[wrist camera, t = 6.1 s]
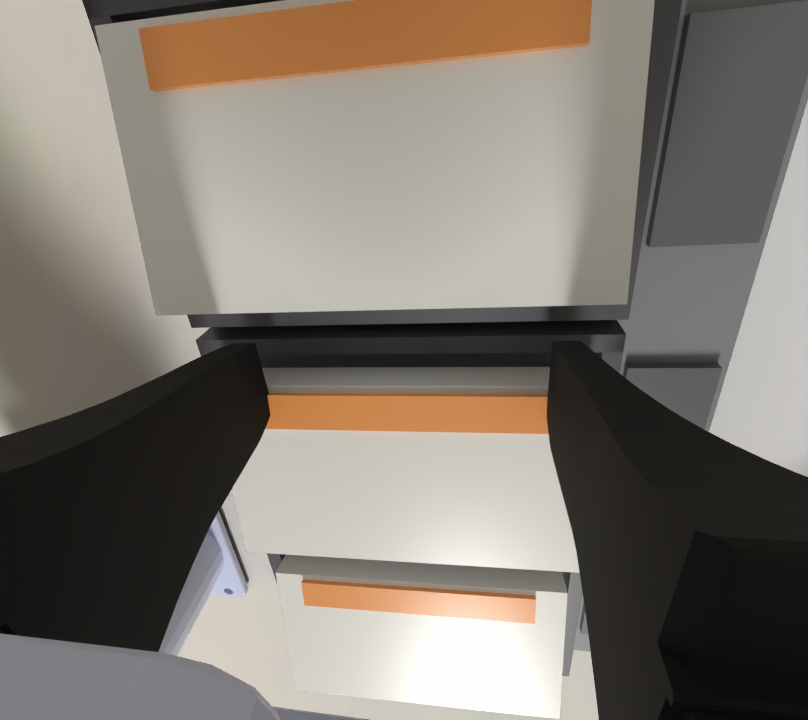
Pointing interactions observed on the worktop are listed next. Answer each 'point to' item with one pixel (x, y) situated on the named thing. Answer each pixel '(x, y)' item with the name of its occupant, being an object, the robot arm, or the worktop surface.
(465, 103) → the panel
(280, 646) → the worktop surface
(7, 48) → the worktop surface
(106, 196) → the worktop surface
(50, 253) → the worktop surface
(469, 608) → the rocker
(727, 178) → the rocker switch panel
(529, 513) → the rocker middle
